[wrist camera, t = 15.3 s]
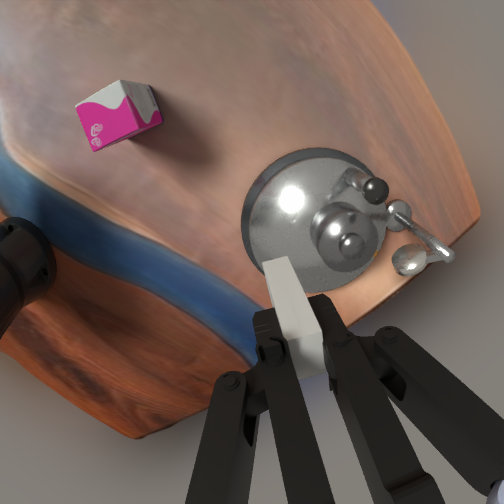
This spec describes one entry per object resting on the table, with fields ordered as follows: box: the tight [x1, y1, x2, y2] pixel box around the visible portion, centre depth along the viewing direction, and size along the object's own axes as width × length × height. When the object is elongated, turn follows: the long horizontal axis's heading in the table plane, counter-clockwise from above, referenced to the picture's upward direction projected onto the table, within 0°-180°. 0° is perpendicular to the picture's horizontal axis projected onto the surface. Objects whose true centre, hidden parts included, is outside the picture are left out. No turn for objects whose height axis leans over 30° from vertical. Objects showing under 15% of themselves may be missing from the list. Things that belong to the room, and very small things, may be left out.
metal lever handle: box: [386, 199, 455, 276], centre depth 38 cm, size 10×5×15 cm, turn 122°
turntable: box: [249, 156, 389, 293], centre depth 39 cm, size 20×20×10 cm
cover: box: [310, 201, 379, 272], centre depth 39 cm, size 8×8×6 cm
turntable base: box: [241, 147, 385, 275], centre depth 44 cm, size 22×22×1 cm
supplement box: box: [75, 80, 163, 152], centre depth 30 cm, size 6×6×12 cm
